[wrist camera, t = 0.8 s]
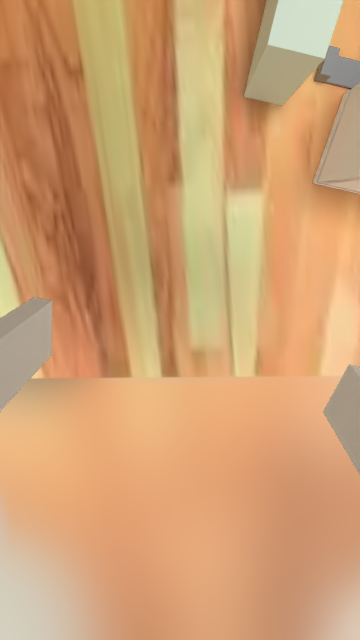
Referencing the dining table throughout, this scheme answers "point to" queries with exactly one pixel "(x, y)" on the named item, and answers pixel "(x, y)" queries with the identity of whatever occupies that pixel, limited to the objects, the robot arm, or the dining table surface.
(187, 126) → the dining table surface
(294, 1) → the door
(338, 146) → the cabinet
